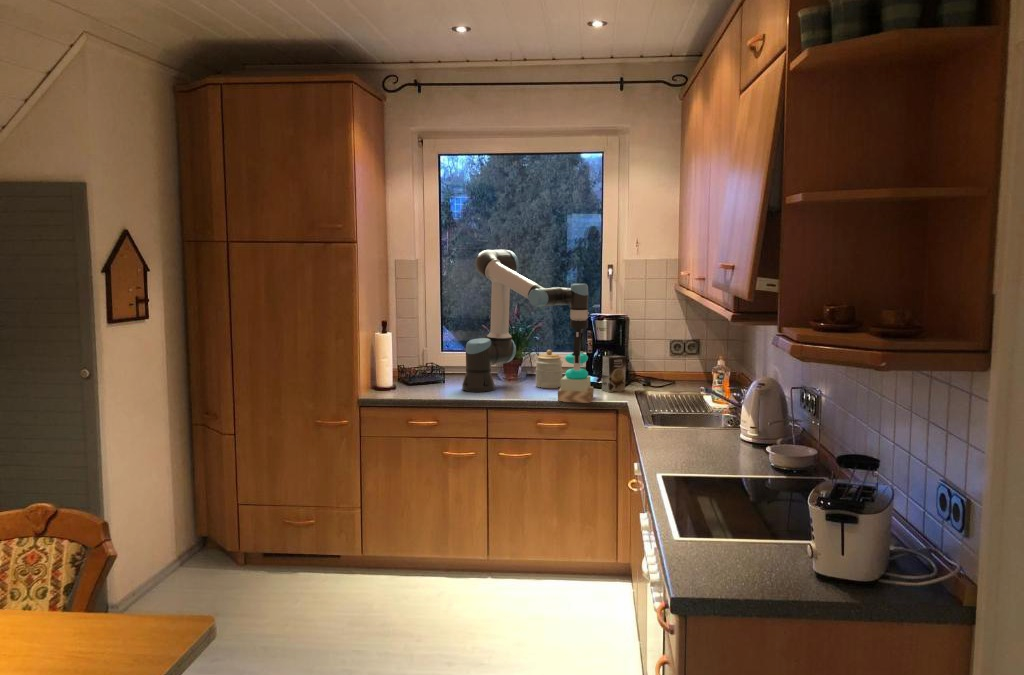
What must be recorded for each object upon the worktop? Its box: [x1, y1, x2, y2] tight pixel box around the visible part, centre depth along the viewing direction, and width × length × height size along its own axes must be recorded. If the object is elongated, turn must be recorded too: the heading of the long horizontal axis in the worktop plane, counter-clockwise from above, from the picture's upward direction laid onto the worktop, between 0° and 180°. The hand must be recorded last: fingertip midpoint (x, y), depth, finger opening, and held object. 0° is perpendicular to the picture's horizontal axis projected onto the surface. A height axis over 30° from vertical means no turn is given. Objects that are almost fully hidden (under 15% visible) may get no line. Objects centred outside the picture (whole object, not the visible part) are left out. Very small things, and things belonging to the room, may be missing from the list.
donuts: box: [564, 353, 589, 379], centre depth 335 cm, size 10×10×10 cm
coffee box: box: [601, 354, 627, 393], centre depth 357 cm, size 9×6×16 cm
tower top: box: [560, 374, 591, 392], centre depth 337 cm, size 11×11×5 cm
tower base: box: [557, 386, 595, 404], centre depth 338 cm, size 14×14×5 cm
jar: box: [535, 349, 564, 389], centre depth 368 cm, size 13×13×18 cm
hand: (578, 368), depth 336 cm, fingers open, 13 cm apart
